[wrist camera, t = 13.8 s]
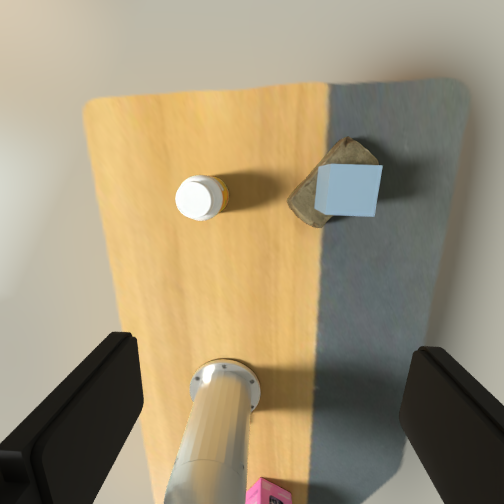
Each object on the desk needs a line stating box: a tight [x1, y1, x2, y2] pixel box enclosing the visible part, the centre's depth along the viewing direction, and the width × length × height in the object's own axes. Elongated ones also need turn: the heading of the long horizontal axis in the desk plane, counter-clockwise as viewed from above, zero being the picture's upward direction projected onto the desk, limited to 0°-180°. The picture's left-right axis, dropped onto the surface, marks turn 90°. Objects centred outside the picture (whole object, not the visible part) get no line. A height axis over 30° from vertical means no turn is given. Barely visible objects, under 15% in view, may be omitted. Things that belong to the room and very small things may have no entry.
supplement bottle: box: [176, 175, 229, 221], centre depth 32 cm, size 5×5×10 cm
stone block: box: [287, 137, 379, 228], centre depth 34 cm, size 6×12×5 cm, turn 141°
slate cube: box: [314, 164, 383, 217], centre depth 29 cm, size 5×5×6 cm
